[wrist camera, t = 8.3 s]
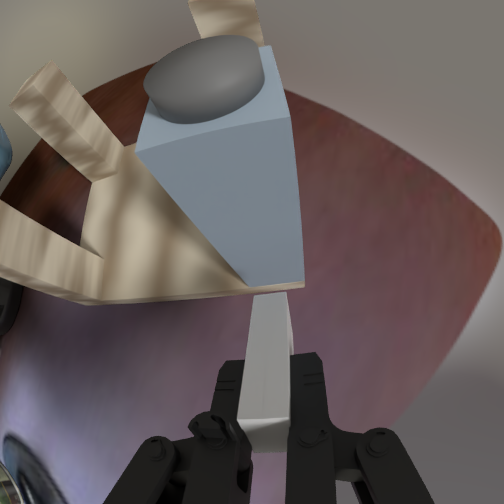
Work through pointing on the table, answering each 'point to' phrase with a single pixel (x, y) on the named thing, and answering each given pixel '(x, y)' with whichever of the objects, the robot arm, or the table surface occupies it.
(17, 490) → the coffee can
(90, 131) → the upturned stool
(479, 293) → the table surface
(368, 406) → the table surface
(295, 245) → the pale blue upright post
